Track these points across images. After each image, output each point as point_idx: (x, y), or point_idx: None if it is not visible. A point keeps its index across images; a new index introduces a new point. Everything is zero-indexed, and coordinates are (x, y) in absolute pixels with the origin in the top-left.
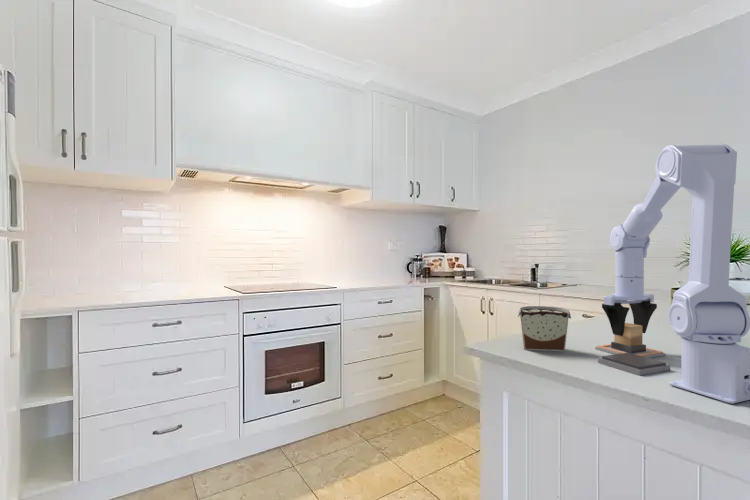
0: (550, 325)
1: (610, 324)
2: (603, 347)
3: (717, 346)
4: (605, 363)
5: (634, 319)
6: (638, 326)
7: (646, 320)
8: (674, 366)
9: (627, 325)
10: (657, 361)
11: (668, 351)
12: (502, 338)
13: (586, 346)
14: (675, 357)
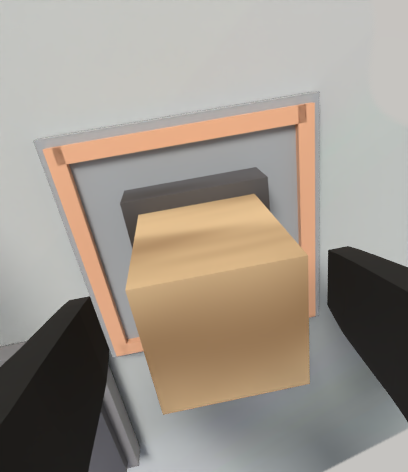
0: None
1: (16, 353)
2: (60, 195)
3: None
4: None
5: (402, 296)
6: (258, 392)
7: (397, 400)
8: (198, 417)
9: (189, 368)
10: (104, 463)
11: (404, 255)
12: None
13: (12, 52)
14: (324, 334)
